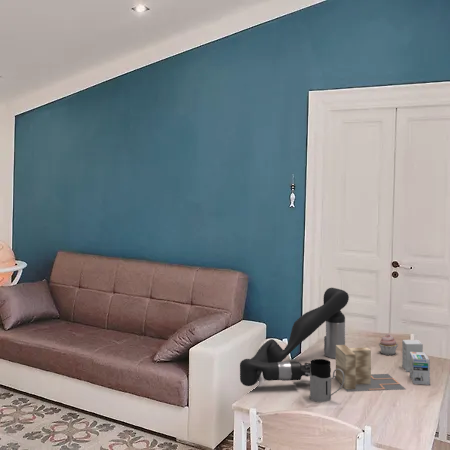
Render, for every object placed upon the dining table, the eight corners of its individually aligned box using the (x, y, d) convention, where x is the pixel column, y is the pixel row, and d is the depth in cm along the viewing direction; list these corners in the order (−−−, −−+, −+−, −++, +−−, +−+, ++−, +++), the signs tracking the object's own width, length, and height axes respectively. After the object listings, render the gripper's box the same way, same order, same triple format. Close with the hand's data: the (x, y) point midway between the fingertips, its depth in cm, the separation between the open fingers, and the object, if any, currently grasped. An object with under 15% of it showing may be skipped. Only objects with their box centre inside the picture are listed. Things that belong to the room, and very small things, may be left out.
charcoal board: (346, 394, 209) (346, 391, 209) (333, 378, 228) (333, 375, 228) (406, 391, 211) (406, 388, 211) (388, 376, 230) (388, 373, 230)
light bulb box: (430, 385, 218) (430, 359, 217) (412, 384, 219) (413, 358, 219) (425, 376, 228) (425, 351, 228) (409, 375, 230) (409, 351, 229)
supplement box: (418, 366, 242) (418, 339, 241) (423, 372, 234) (423, 343, 234) (401, 366, 242) (402, 339, 242) (405, 371, 235) (405, 343, 234)
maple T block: (345, 389, 211) (345, 354, 211) (335, 377, 225) (335, 345, 225) (375, 388, 212) (375, 353, 212) (363, 376, 226) (363, 344, 226)
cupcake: (376, 354, 261) (376, 334, 260) (380, 350, 269) (380, 330, 269) (396, 357, 257) (396, 336, 256) (399, 352, 265) (399, 332, 264)
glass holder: (316, 394, 209) (316, 357, 208) (349, 403, 200) (349, 363, 199) (304, 401, 202) (304, 362, 201) (338, 410, 193) (338, 369, 192)
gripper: (285, 374, 223) (326, 373, 224) (291, 385, 210) (334, 384, 211) (285, 357, 223) (326, 355, 224) (291, 366, 210) (334, 365, 211)
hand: (330, 369), depth 218 cm, fingers closed
